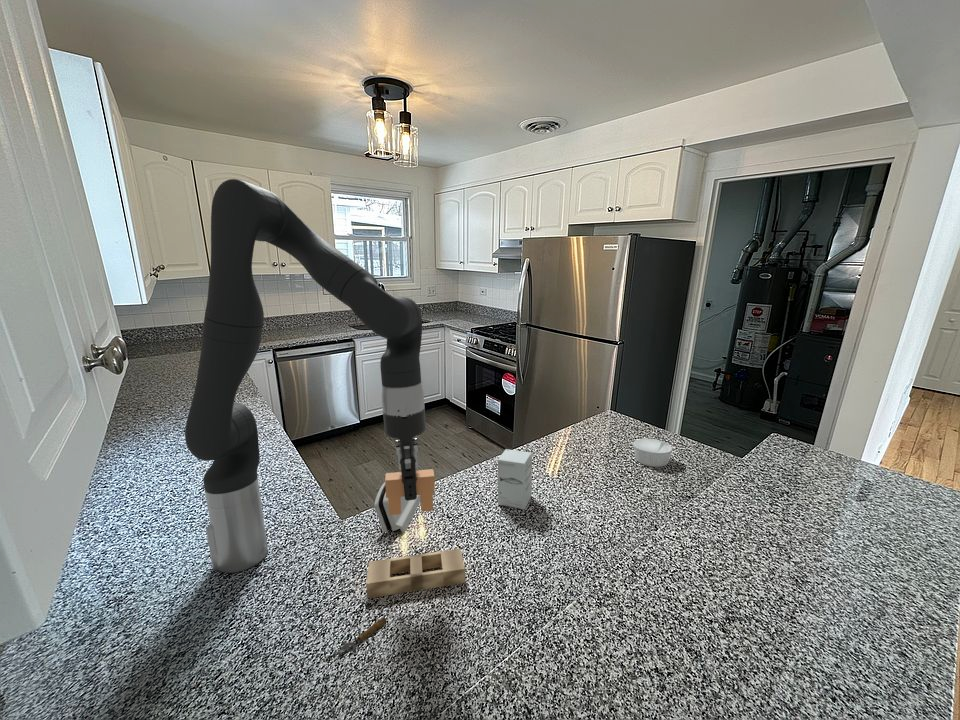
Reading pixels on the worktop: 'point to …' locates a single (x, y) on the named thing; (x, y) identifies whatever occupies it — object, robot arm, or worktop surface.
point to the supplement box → (514, 478)
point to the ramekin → (652, 452)
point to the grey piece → (397, 520)
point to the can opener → (362, 636)
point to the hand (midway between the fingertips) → (410, 494)
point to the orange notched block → (423, 488)
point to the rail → (415, 573)
